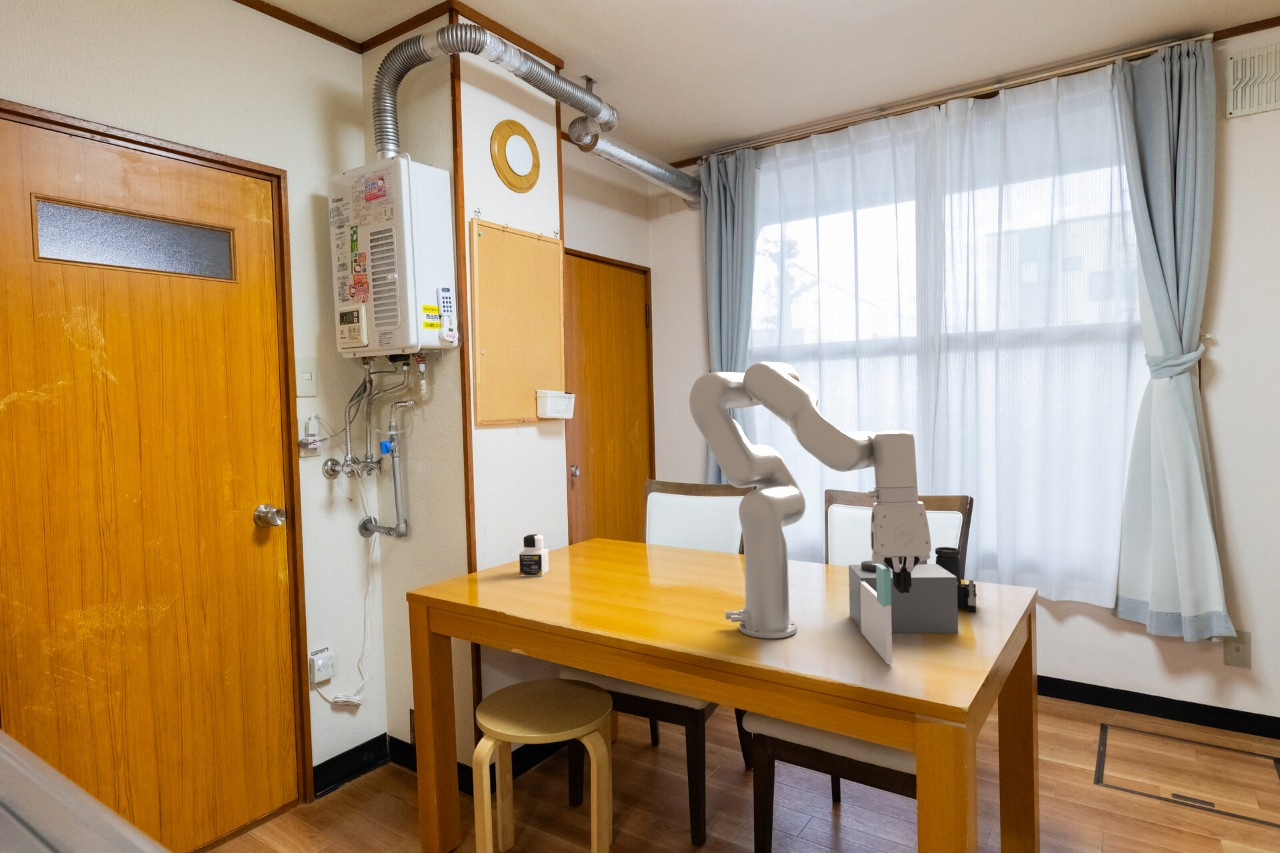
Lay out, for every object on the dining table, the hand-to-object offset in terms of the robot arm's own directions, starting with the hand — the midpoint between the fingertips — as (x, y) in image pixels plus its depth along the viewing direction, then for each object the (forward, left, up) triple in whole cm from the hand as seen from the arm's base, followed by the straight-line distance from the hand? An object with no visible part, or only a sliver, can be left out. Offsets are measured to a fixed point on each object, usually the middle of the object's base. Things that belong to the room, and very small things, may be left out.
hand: (902, 591), depth 128 cm
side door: (-4, +7, -13) cm, 15 cm away
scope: (+22, +35, -14) cm, 44 cm away
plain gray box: (+6, +22, -14) cm, 27 cm away
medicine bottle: (-90, +71, -14) cm, 116 cm away
